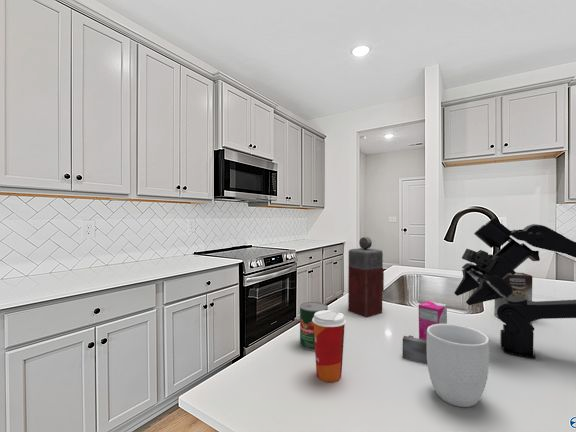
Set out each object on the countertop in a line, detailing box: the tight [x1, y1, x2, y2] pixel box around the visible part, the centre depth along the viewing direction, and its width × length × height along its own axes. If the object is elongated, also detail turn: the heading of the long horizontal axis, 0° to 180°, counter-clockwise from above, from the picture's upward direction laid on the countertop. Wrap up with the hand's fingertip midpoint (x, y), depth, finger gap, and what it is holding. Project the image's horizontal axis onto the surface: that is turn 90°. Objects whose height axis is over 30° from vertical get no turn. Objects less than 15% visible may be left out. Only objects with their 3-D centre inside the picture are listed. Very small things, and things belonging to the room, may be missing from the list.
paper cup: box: [312, 309, 347, 383], centre depth 69 cm, size 8×8×14 cm
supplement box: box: [417, 300, 448, 340], centre depth 85 cm, size 6×6×12 cm
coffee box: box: [493, 272, 533, 324], centre depth 106 cm, size 9×6×16 cm
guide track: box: [401, 335, 427, 364], centre depth 79 cm, size 12×10×5 cm
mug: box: [426, 323, 490, 408], centre depth 63 cm, size 15×11×13 cm
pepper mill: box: [347, 236, 385, 319], centre depth 114 cm, size 9×11×28 cm
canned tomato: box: [299, 301, 329, 352], centre depth 85 cm, size 8×8×11 cm
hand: (461, 298), depth 84 cm, fingers open, 9 cm apart
